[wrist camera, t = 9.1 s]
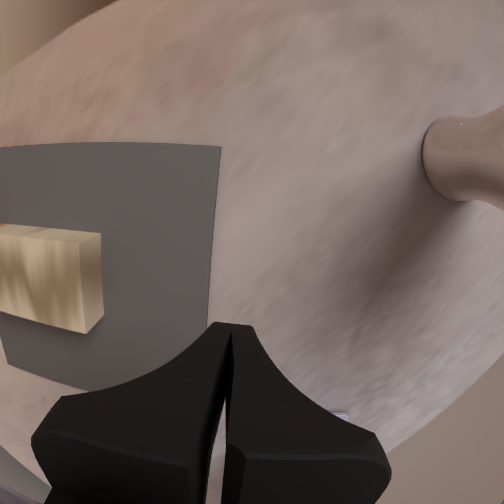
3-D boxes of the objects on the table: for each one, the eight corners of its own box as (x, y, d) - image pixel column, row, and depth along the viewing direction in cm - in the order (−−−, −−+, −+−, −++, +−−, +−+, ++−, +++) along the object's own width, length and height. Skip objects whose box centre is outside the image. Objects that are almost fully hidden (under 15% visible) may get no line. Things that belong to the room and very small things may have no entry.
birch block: (86, 333, 18) (-14, 306, 18) (104, 314, 21) (7, 293, 21) (79, 243, 17) (-24, 230, 17) (100, 233, 20) (0, 223, 20)
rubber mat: (203, 411, 24) (202, 414, 23) (10, 361, 24) (8, 363, 23) (221, 147, 19) (220, 146, 18) (-13, 149, 18) (-16, 149, 18)
